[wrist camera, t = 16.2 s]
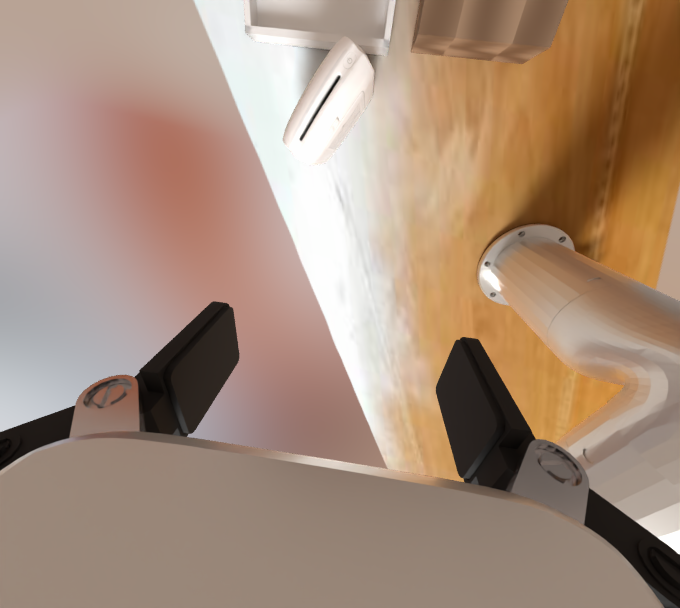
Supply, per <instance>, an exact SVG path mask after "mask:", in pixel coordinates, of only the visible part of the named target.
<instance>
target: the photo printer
mask: <svg viewBox="0 0 680 608" xmlns="http://www.w3.org/2000/svg"><path fill="white" fill-rule="evenodd" d="M374 74H375V73H374V69H373V67H372V65H371V63H370V61H369V58H368V56H367V55H366V53H365V52H364V51H363V50H362V48H361V47H360V46H358V45H357V44H355V43H354V42H353V41H352V40H351V39H349V38H348V37H345V36H344V37H342V38H341V39H340V40H339V41H338V42H337V43H336V44H335V45H334V46H333V48H332V49H331V50H330V52H329V53H328V54H327V56H326V57H325V59H324V60H323V62H322V63H321V65H320V66H319V68H318V69H317V71H316V72H315V74H314V76H313V77H312V79H311V81H310V82H309V84H308V86H307V87H306V89H305V91H304V93H303V95H302V96H301V98H300V100H299V102H298V104H297V106H296V107H295V109H294V111H293V113H292V115H291V117H290V120H289V122H288V124H287V127H286V129H285V132H284V136H283V142H284V144H285V145H286V146H287V147H288V148H289V150H290V152H291V153H292V154H293V156H294V157H295V158H297V159H298V160H300V161H302V162H306V163H307V164H309V165H318V164H324V163H326V162H327V161H328V160H329V159H330V158H331V157H332V156H333V154H334V153H335V152H336V151H337V149H338V148H339V146H340V145H341V144H342V142H343V141H344V140H345V138H346V137H347V136H348V134H349V133H350V131H351V130H352V128H353V127H354V126H355V124H356V123H357V121H358V120H359V118H360V117H361V115H362V114H363V112H364V111H365V109H366V108H367V106H368V104H369V102H370V100H371V98H372V96H373V87H374Z"/></svg>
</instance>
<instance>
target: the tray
mask: <svg viewBox="0 0 680 608" xmlns="http://www.w3.org/2000/svg"><path fill="white" fill-rule="evenodd" d="M395 2H396V0H244V15H245V31H246V34H247V35H248V36H249V37H250V38H251V39H252V40H253V41H254V42H259V43H268V44H278V45H287V46H297V47H306V48H316V49H325V50H331V49H332V48H333V46H334V45H335V44H336V43H337V42H338V41H339V40H340V39H341V38H342V37H344V36H345V37H348V38H349V39H351V40H352V41H353V42H354V43H355V44H357V45H358V46H360V47H361V48H362V50H363V51H364V52H365V53H366V54H372V55H382V56H387V55H388V49H389V43H390V36H391V29H392V22H393V15H394V9H395Z"/></svg>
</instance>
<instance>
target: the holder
mask: <svg viewBox="0 0 680 608" xmlns="http://www.w3.org/2000/svg"><path fill="white" fill-rule="evenodd" d="M567 3H568V0H420V5H419V11H418V16H417V22H416V27H415V33H414V38H413V44H412V49H411V52H413V53H422V54H432V55H441V56H451V57H461V58H470V59H480V60H489V61H499V62H508V63H518V64H523V63H525V62H527V61H528V60H530V59H532V58H533V57H535V56H537V55H538V54H540V53H542V52H544V51H545V50H547V49H549V48H550V47H551V44H552V42H553V39H554V37H555V34H556V31H557V29H558V26H559V23H560V21H561V18H562V16H563V13H564V10H565V8H566V5H567Z"/></svg>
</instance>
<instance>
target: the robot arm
mask: <svg viewBox="0 0 680 608" xmlns="http://www.w3.org/2000/svg"><path fill="white" fill-rule="evenodd" d="M519 232H520V233H519ZM485 262H486V263H485ZM477 280H478V284H479V286H480V288H481V290H482V291H483V292H484V294H485V295H486V296H487V297H488V298H489V299H491V300H493V301H494V302H497V303H500V304H503V305H510V306H511V307H512V308H513V309H514V310H515V312H516V313H517V314H518V315H519V316H520V317H521V318H522V319H523V320H524V321H525V322H526V324H527V325H528V326H529V327H530V328H531V329H532V330H533V331H534V332H535V333H536V335H537V336H538V337H539V338H540V339H541V340H542V341H543V342H544V343H545V344H546V345H547V347H548V348H549V349H550V350H551V351H552V352H553V353H554V354H555V355H556V356H557V357H558V358H559V359H560V360H561V361H562V362H563V363H564V364H565V365H566V366H568V367H569V368H571V369H572V370H574V371H576V372H578V373H580V374H582V375H584V376H587V377H590V378H593V379H596V380H600V381H604V382H609V383H614V384H620V385H624V387H623V388H622V390H621V391H620V392H619V393H617V394H616V395H615V396H614V397H613V398H611V399H610V400H609V401H608V402H607V404H605V405H604V406H603V407H601V408H600V409H599V410H597V411H596V412H594V413H593V414H592V415H590V416H589V417H588V418H586V419H585V420H584V421H582V422H581V423H579V424H578V425H577V426H575V427H574V428H573V429H571V430H570V431H569V432H568V433H566V434H565V435H564V436H562V437H561V438H560V439H559V440H558V441H557V442H556V443H553V442H550V441H547V440H540V439H537V440H536V439H535V437H534V435H533V434H532V431H531V429H530V427H529V426H528V424H527V422H526V421H525V419H524V417H523V415H522V414H521V412H520V410H519V408H518V407H517V405H516V403H515V402H514V400H513V398H512V396H511V395H510V393H509V391H508V389H507V388H506V386H505V384H504V383H503V381H502V379H501V377H500V376H499V374H498V372H497V371H496V369H495V367H494V365H493V364H492V362H491V360H490V358H489V357H488V355H487V353H486V352H485V350H484V348H483V346H482V345H481V343H480V341H479V340H478V339H473V338H466V337H462V338H461V339H460V340H456V341H455V343H454V346H453V348H452V350H451V353H450V355H449V357H448V360H447V362H446V364H445V367H444V369H443V371H442V374H441V376H440V378H439V381H438V383H437V386H436V394H437V398H438V402H439V405H440V409H441V413H442V416H443V420H444V424H445V427H446V431H447V435H448V438H449V442H450V445H451V449H452V453H453V456H454V460H455V464H456V467H457V471H458V474H459V476H460V477H461V478H464V482H465V483H464V482H459V481H453V480H448V479H443V478H437V477H431V476H426V475H420V474H414V473H408V472H402V471H396V470H390V469H384V468H378V467H372V466H366V465H360V464H354V463H348V462H342V461H335V460H329V459H323V458H317V457H311V456H304V455H299V454H293V453H286V452H280V451H274V450H268V449H261V448H255V447H248V446H242V445H235V444H229V443H223V442H216V441H210V440H204V439H197V438H189V437H187V436H188V434H191V433H193V432H194V431H195V430H196V428H197V426H198V425H199V423H200V422H201V420H202V419H203V417H204V415H205V414H206V412H207V411H208V409H209V407H210V406H211V404H212V403H213V401H214V400H215V398H216V396H217V395H218V393H219V392H220V390H221V388H222V387H223V385H224V384H225V382H226V380H227V379H228V377H229V376H230V374H231V373H232V371H233V369H234V368H235V366H236V365H237V363H238V361H239V350H238V341H237V334H236V327H235V319H234V312H233V308H232V307H230V306H229V304H227V303H222V302H212V303H211V304H209V305H208V306H207V307H206V308H205V309H204V310H203V311H202V312H201V313H200V314H199V315H198V316H197V317H196V318H195V319H194V320H192V321H191V322H190V323H189V324H188V325H187V326H186V327H185V328H184V329H183V330H182V331H181V332H180V333H179V334H178V335H177V336H176V337H175V338H173V340H171V341H170V342H169V343H168V344H167V345H166V346H165V347H164V348H163V349H162V350H161V351H160V352H158V354H156V355H155V356H154V357H153V358H152V359H151V360H150V361H149V362H148V363H147V364H146V365H145V366H144V367H143V368H141V369H140V372H139V373H138V374H137V375H136V376H135V377H133V376H129V375H116V376H111V377H108V378H105V379H102V380H100V381H98V382H96V383H94V384H92V385H91V386H90V387H88V388H87V389H85V390H84V391H83V392H82V394H81V395H80V396H79V397H78V399H77V402H76V405H75V406H72V407H69V408H67V409H64V410H61V411H58V412H55V413H53V414H50V415H47V416H44V417H41V418H39V419H36V420H33V421H30V422H28V423H25V424H22V425H19V426H16V427H14V428H11V429H8V430H5V431H3V432H0V608H680V301H678V300H676V299H674V298H671V297H670V296H667V295H665V294H663V293H661V292H659V291H657V290H655V289H653V288H651V287H648V286H646V285H644V284H642V283H640V282H638V281H636V280H634V279H632V278H630V277H627V276H625V275H623V274H621V273H619V272H617V271H615V270H613V269H611V268H609V267H607V266H605V265H602V264H600V263H598V262H596V261H594V260H592V259H590V258H588V257H586V256H584V255H582V254H580V253H577V252H575V248H574V244H573V242H572V240H571V239H570V237H569V236H568V235H567V234H566V233H565V232H564V231H562V230H560V229H558V228H556V227H553V226H550V225H546V224H529V225H524V226H520V227H517V228H515V229H512V230H510V231H508V232H507V233H505V234H503V235H502V236H500V237H499V238H498V239H496V240H495V241H494V242H493V243H492V244H491V245H490V246H489V247H488V248H487V250H486V251H485V253H484V254H483V255H482V258H481V260H480V262H479V265H478V269H477Z"/></svg>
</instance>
